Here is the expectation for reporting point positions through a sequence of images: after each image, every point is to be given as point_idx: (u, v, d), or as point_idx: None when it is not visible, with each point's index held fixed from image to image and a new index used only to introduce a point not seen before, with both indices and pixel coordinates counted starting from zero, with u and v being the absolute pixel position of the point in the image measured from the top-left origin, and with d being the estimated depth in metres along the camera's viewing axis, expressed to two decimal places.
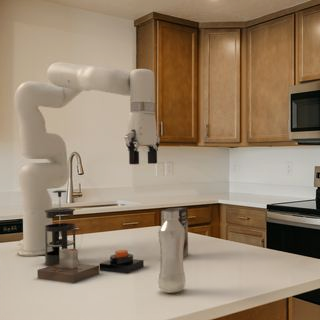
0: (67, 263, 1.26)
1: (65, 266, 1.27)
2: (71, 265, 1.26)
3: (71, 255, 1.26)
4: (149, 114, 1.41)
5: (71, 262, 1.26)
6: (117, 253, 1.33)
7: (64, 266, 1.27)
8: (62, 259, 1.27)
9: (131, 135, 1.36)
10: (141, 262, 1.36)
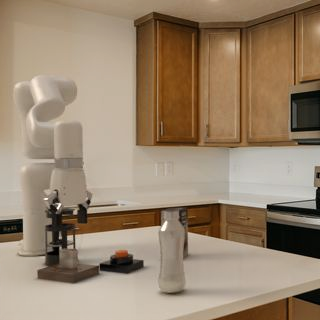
0: (67, 263, 1.26)
1: (65, 266, 1.27)
2: (71, 265, 1.26)
3: (71, 255, 1.26)
4: (75, 171, 1.26)
5: (71, 262, 1.26)
6: (117, 253, 1.33)
7: (64, 266, 1.27)
8: (62, 259, 1.27)
9: (52, 196, 1.21)
10: (141, 262, 1.36)
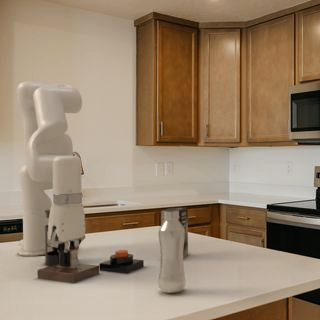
0: None
1: None
2: (71, 265, 1.26)
3: (71, 255, 1.26)
4: (74, 206, 1.26)
5: (71, 262, 1.26)
6: (117, 253, 1.33)
7: None
8: None
9: (56, 239, 1.22)
10: (141, 262, 1.36)
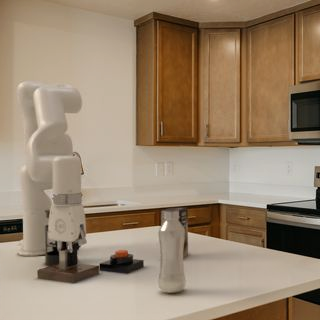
0: None
1: None
2: None
3: None
4: None
5: None
6: (117, 253, 1.33)
7: None
8: None
9: None
10: (141, 262, 1.36)
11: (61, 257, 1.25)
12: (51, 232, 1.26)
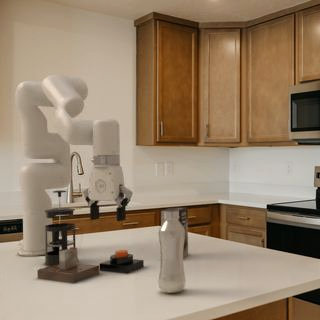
0: (72, 262, 1.28)
1: (70, 266, 1.27)
2: (76, 263, 1.29)
3: (76, 253, 1.29)
4: None
5: (76, 259, 1.29)
6: (117, 253, 1.33)
7: (69, 266, 1.27)
8: (68, 259, 1.26)
9: None
10: (141, 262, 1.36)
11: (61, 257, 1.25)
12: (91, 192, 1.31)
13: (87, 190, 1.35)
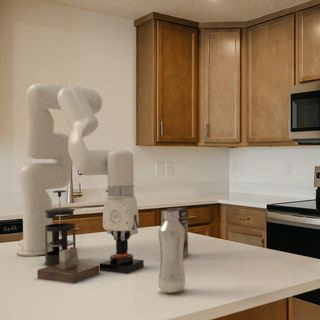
0: (72, 262, 1.28)
1: (70, 266, 1.27)
2: (76, 263, 1.29)
3: (76, 253, 1.29)
4: None
5: (76, 259, 1.29)
6: (117, 255, 1.33)
7: (69, 266, 1.27)
8: (68, 259, 1.26)
9: None
10: (141, 262, 1.36)
11: (61, 257, 1.25)
12: (106, 222, 1.34)
13: None
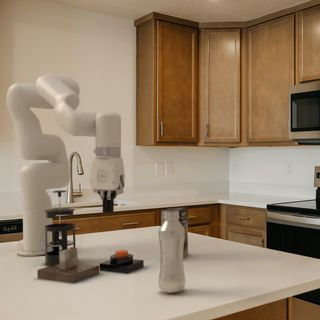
0: (72, 262, 1.28)
1: (70, 266, 1.27)
2: (76, 263, 1.29)
3: (76, 253, 1.29)
4: None
5: (76, 259, 1.29)
6: (117, 253, 1.33)
7: (69, 266, 1.27)
8: (68, 259, 1.26)
9: None
10: (141, 262, 1.36)
11: (61, 257, 1.25)
12: (93, 181, 1.38)
13: None
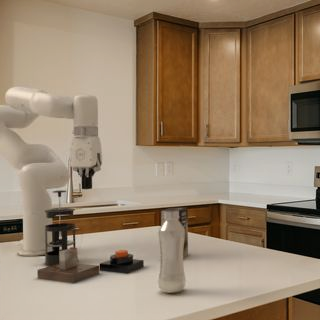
0: (72, 262, 1.28)
1: (70, 266, 1.27)
2: (76, 263, 1.29)
3: (76, 253, 1.29)
4: None
5: (76, 259, 1.29)
6: (117, 253, 1.33)
7: (69, 266, 1.27)
8: (68, 259, 1.26)
9: None
10: (141, 262, 1.36)
11: (61, 257, 1.25)
12: (72, 160, 1.47)
13: None
